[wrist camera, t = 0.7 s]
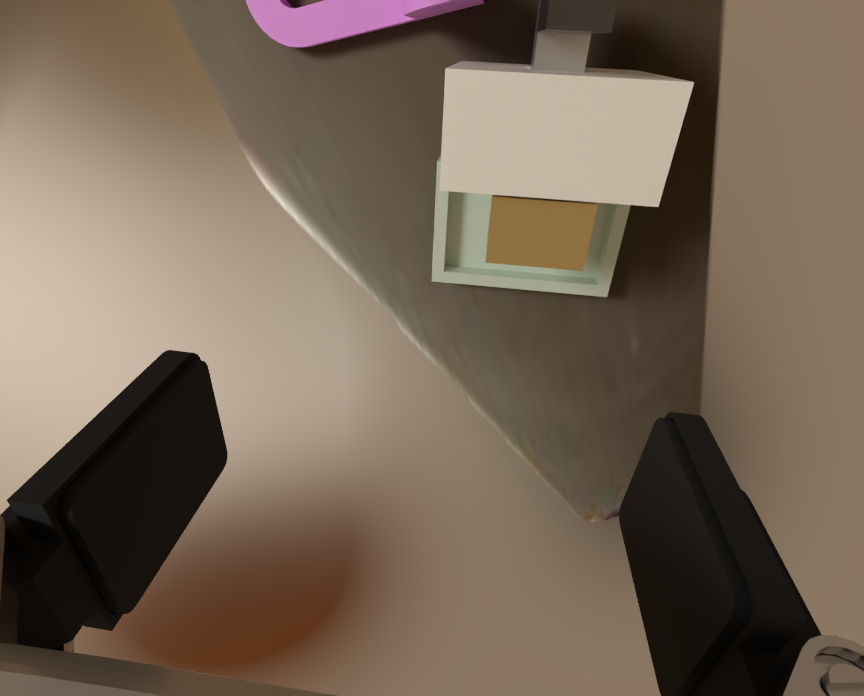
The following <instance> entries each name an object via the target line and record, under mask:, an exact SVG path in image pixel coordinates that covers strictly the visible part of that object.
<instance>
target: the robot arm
mask: <svg viewBox="0 0 864 696" xmlns="http://www.w3.org/2000/svg"><path fill="white" fill-rule="evenodd" d="M226 461H227V449H226V444H225V440H224V435H223V431H222V427H221V422H220V418H219V414H218V409H217V405H216V401H215V396H214V392H213V388H212V383H211V379H210V374H209V370H208V366H207V364H206V363H205V362H204V361H201V360H200V357H199V356H198V355H197V354H195V353H189V352H181V351H172V350H168V351H165V352H164V353H162V354H161V355H160V356H159V357H158V358H157V359H156V360H155V361H154V362H153V363H152V364H151V365H150V366H149V367H147V368H146V369H145V370H144V371H143V372H142V373H141V374H140V375H139V376H138V377H137V378H136V379H135V380H134V381H133V382H132V383H131V384H130V385H128V387H126V388H125V389H124V390H123V391H122V392H121V393H120V394H119V395H118V396H117V397H116V398H115V399H114V400H112V401H111V402H110V403H109V404H108V405H107V406H106V407H105V408H104V409H103V410H102V411H101V412H100V413H99V414H98V415H97V416H96V417H94V418H93V420H91V421H90V422H89V423H88V424H87V425H86V426H85V427H84V428H83V429H82V430H81V431H80V432H79V433H78V434H76V435H75V436H74V437H73V438H72V439H71V440H70V441H69V442H68V443H67V444H66V445H65V446H64V447H63V448H62V449H61V450H59V451H58V452H57V453H56V454H55V455H54V456H53V457H52V458H51V459H50V460H49V461H48V462H47V463H46V464H45V465H44V466H43V467H41V468H40V469H39V470H38V471H37V472H36V473H35V474H34V475H33V476H32V477H31V478H30V479H29V480H28V481H27V482H26V483H25V484H24V485H22V486H21V487H20V488H19V489H18V490H17V491H16V492H15V493H14V494H13V495H12V496H11V497H10V498H9V499H8V500H7V501H8V503H9V504H10V506H9V507H8V508H7V509H6V510H5V511H4V512H3V513H2V514H1V515H0V696H336V695H331V694H325V693H318V692H313V691H307V690H301V689H295V688H289V687H283V686H277V685H271V684H265V683H259V682H253V681H247V680H241V679H235V678H229V677H223V676H216V675H211V674H204V673H198V672H192V671H186V670H180V669H174V668H168V667H162V666H156V665H150V664H144V663H137V662H131V661H125V660H119V659H113V658H107V657H100V656H93V655H86V654H79V653H74V637H75V635H76V634H77V633H78V631H79V630H80V629H81V627H82V626H83V625H84V626H86V627H93V628H99V629H104V630H110V631H112V630H113V629H114V627H115V626H116V624H117V623H118V621H119V619H120V618H121V616H122V615H123V614H127V613H129V612H131V611H132V610H133V609H134V607H135V606H136V605H137V603H138V602H139V600H140V599H141V597H142V596H143V594H144V592H145V591H146V589H147V588H148V586H149V585H150V583H151V582H152V580H153V578H154V577H155V575H156V574H157V572H158V571H159V569H160V567H161V566H162V564H163V563H164V561H165V560H166V558H167V556H168V555H169V553H170V552H171V550H172V549H173V547H174V546H175V544H176V542H177V541H178V539H179V538H180V536H181V534H182V533H183V532H184V530H185V528H186V527H187V525H188V524H189V522H190V521H191V519H192V517H193V516H194V514H195V513H196V511H197V510H198V508H199V506H200V505H201V503H202V502H203V500H204V499H205V497H206V496H207V494H208V492H209V491H210V489H211V488H212V486H213V485H214V483H215V481H216V480H217V478H218V477H219V475H220V474H221V472H222V471H223V469H224V467H225V464H226ZM619 521H620V526H621V531H622V535H623V539H624V544H625V548H626V552H627V556H628V561H629V565H630V569H631V573H632V578H633V582H634V585H635V590H636V594H637V599H638V603H639V607H640V611H641V615H642V620H643V624H644V628H645V632H646V636H647V641H648V645H649V649H650V653H651V658H652V662H653V666H654V670H655V675H656V679H657V683H658V687H659V691H660V694H661V696H864V647H862V646H860V645H859V644H857V643H855V642H852V641H850V640H847V639H843V638H841V637H838V636H828V635H821V633H820V631H819V629H818V627H817V625H816V624H815V622H814V620H813V618H812V616H811V614H810V612H809V611H808V609H807V607H806V605H805V603H804V601H803V599H802V597H801V595H800V593H799V592H798V589H797V588H796V586H795V584H794V582H793V580H792V578H791V576H790V574H789V573H788V571H787V569H786V567H785V565H784V563H783V561H782V559H781V557H780V556H779V554H778V552H777V550H776V548H775V546H774V544H773V543H772V540H771V538H770V537H769V535H768V533H767V531H766V529H765V527H764V525H763V524H762V521H761V520H760V518H759V516H758V514H757V512H756V510H755V508H754V506H753V504H752V502H751V501H750V499H749V498H748V496H747V495H746V493H745V492H744V491H742V490H741V489H740V487H739V485H738V483H737V481H736V479H735V477H734V475H733V473H732V472H731V470H730V468H729V466H728V464H727V462H726V460H725V458H724V456H723V454H722V452H721V450H720V448H719V447H718V445H717V443H716V441H715V439H714V437H713V435H712V433H711V432H710V429H709V427H708V425H707V423H706V421H705V420H704V419H703V417H701V416H699V415H691V414H682V413H674V412H670V413H668V414H667V415H666V416H665V418H658V419H657V420H656V422H655V423H654V426H653V428H652V431H651V433H650V436H649V438H648V440H647V443H646V445H645V448H644V450H643V453H642V455H641V458H640V460H639V462H638V465H637V467H636V470H635V472H634V475H633V477H632V479H631V482H630V484H629V487H628V489H627V492H626V494H625V497H624V499H623V501H622V504H621V507H620V512H619Z"/></svg>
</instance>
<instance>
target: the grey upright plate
mask: <svg viewBox="0 0 864 696" xmlns="http://www.w3.org/2000/svg"><path fill="white" fill-rule="evenodd" d="M617 3H618V0H539V7H538V14H537V22H536V30H535V37H534V45H533V53H532V60H531V68H530V69H532V70H550V71H568V72H585V66H586V60H587V55H588V49H589V44H590V38H591V34H600V33H611V32H612V28H613V23H614V18H615V13H616V8H617Z"/></svg>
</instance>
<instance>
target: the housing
mask: <svg viewBox="0 0 864 696" xmlns="http://www.w3.org/2000/svg"><path fill="white" fill-rule="evenodd" d="M530 68H531V65H529V64H511V63H492V62H473V61H461V62H459V63H457V64H454V65H452V66H450V67H448V68H446V70H445V90H444V110H443V130H442V150H441V170H440V190H439V191H452V192H465V193H478V194H491V195H505V196H518V197H531V198H544V199H557V200H571V201H584V202H597V203H610V204H624V205H637V206H650V207H659V203H660V200H661V196H662V193H663V189H664V186H665V182H666V179H667V175H668V172H669V168H670V165H671V162H672V158H673V155H674V151H675V148H676V144H677V141H678V137H679V134H680V130H681V127H682V123H683V120H684V116H685V113H686V109H687V106H688V102H689V99H690V95H691V92H692V89H693V85H694V82H691V81H686V80H681V79H677V78H672V77H667V76H662V75H657V74H652V73H648V72H643V71H638V70H622V69H603V68H585V72H568V71H550V70H532V69H530Z"/></svg>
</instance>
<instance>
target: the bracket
mask: <svg viewBox="0 0 864 696" xmlns="http://www.w3.org/2000/svg"><path fill="white" fill-rule="evenodd" d="M246 3H247V5H248V8H249V10H250V12H251V14H252V16H253V18H254V19H255V21H256V22H257V24H258V25H259V26H260V28H261V29H262V30H263V31H264V32H265V33H266V34H267V35H268V36H270V37H271V38H272V39H274V40H276V41H277V42H279V43H281V44H284V45H286V46H291V47H312V46H317V45H321V44H325V43H329V42H333V41H337V40H341V39H345V38H349V37H353V36H357V35H361V34H365V33H369V32H373V31H377V30H381V29H385V28H389V27H393V26H397V25H401V24H405V23H409V22H413V21H417V20H421V19H425V18H429V17H433V16H437V15H441V14H445V13H449V12H453V11H457V10H461V9H465V8H469V7H473V6H477V5H481V4H484V0H325V1H321V2H317V3H314V4H310V5H306V6H303V7H299V8H294V7H292V6H291V5H290V4H289V3H288V1H287V0H246Z"/></svg>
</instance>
